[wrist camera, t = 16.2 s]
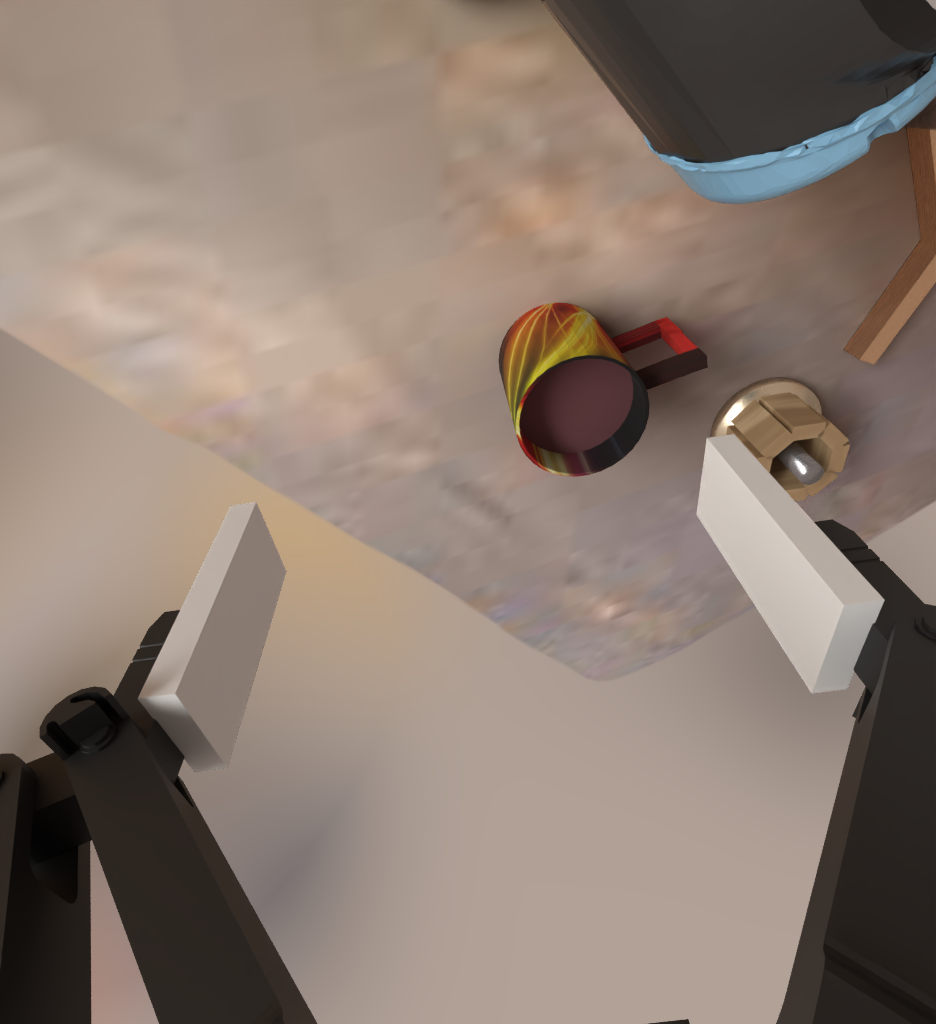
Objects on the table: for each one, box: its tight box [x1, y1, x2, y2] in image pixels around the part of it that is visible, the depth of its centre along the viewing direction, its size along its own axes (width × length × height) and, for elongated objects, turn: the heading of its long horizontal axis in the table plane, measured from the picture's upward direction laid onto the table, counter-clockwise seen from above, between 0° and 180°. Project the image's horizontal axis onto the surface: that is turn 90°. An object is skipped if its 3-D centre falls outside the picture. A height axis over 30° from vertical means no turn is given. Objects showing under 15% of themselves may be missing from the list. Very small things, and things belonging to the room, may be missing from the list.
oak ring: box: [726, 392, 850, 501], centre depth 53 cm, size 8×8×6 cm
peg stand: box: [711, 378, 824, 485], centre depth 52 cm, size 10×10×9 cm
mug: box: [499, 303, 708, 476], centre depth 45 cm, size 10×14×12 cm
